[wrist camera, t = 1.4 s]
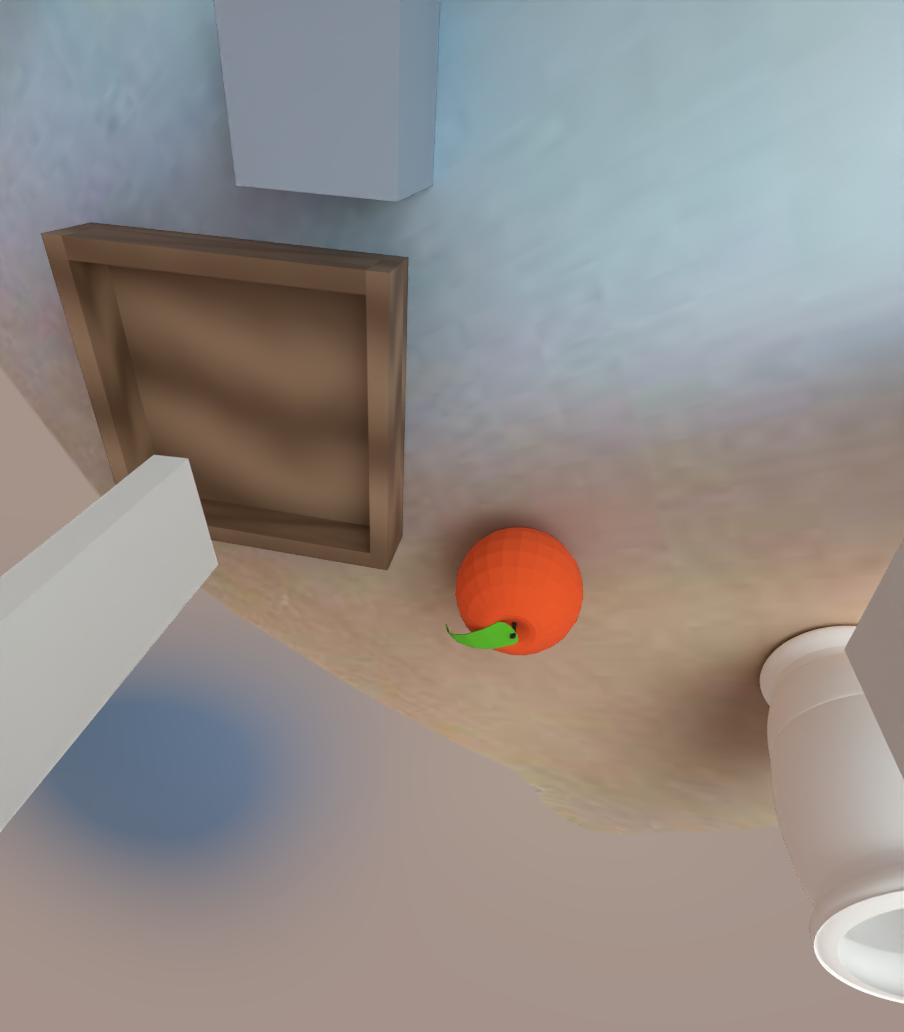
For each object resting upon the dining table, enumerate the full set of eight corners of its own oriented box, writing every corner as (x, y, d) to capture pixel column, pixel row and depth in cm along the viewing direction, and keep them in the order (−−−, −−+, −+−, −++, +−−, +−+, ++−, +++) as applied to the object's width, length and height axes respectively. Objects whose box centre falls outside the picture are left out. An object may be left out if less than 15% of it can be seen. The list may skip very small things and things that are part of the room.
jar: (923, 728, 37) (1086, 1027, 25) (742, 732, 41) (810, 1000, 28) (946, 600, 32) (1167, 898, 20) (737, 615, 35) (817, 882, 23)
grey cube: (288, -7, 23) (208, -38, 18) (440, 3, 22) (400, -28, 18) (300, 172, 27) (235, 185, 22) (433, 185, 26) (397, 201, 21)
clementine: (486, 613, 39) (468, 701, 33) (430, 533, 36) (400, 613, 30) (602, 577, 36) (606, 667, 30) (551, 485, 33) (543, 565, 27)
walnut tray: (90, 222, 29) (40, 233, 27) (408, 257, 28) (389, 273, 25) (160, 496, 38) (127, 525, 36) (402, 536, 37) (387, 570, 34)
